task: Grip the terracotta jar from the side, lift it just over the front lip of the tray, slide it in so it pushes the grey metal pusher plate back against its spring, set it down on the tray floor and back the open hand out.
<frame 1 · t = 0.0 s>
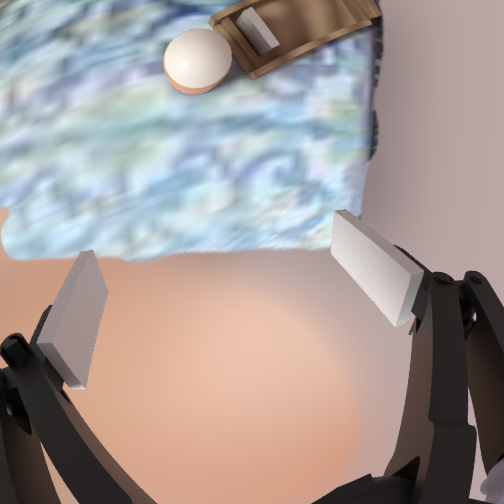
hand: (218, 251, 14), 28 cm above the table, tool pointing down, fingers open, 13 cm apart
jar: (194, 72, 32), on the table
tray: (291, 20, 30), on the table
pusher: (254, 33, 27), point 5 cm above the table, slide at 0.0 cm
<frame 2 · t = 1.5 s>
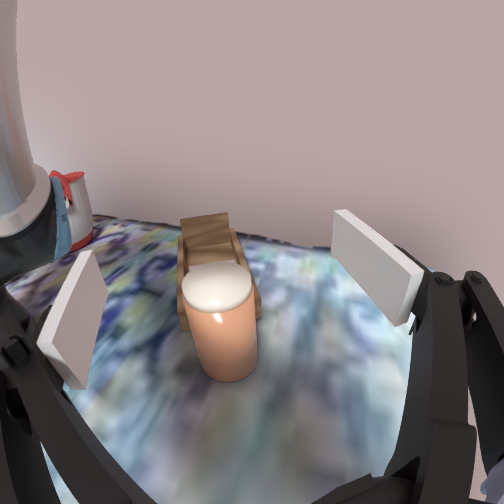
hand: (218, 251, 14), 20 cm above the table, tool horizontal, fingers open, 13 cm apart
jar: (228, 358, 33), on the table
tray: (213, 279, 47), on the table
pusher: (215, 286, 38), point 5 cm above the table, slide at 0.0 cm
citrus juicer: (74, 245, 61), on the table
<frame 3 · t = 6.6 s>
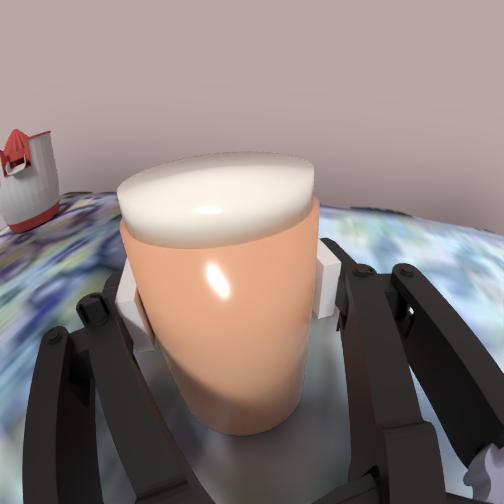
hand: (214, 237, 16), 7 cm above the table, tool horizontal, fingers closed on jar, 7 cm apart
jar: (242, 383, 15), on the table, touching gripper
citrus juicer: (35, 223, 44), on the table
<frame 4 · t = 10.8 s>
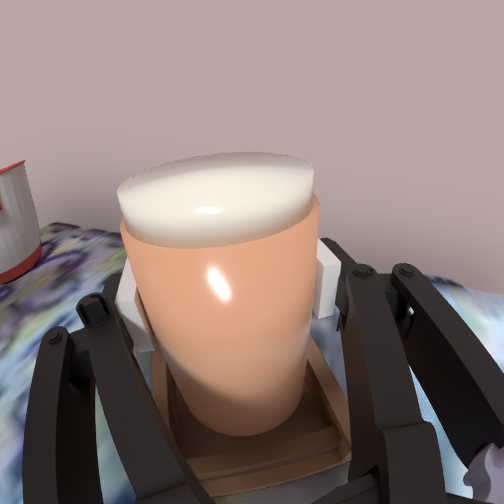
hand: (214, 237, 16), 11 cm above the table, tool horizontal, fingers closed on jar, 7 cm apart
jar: (242, 383, 15), point 4 cm above the table, touching gripper, pusher
tray: (231, 359, 21), on the table
citrus juicer: (16, 270, 36), on the table
when the fingers open (9 cm above the table, at t = 11.6 s): jar moves 1 cm, resting on tray, pusher.
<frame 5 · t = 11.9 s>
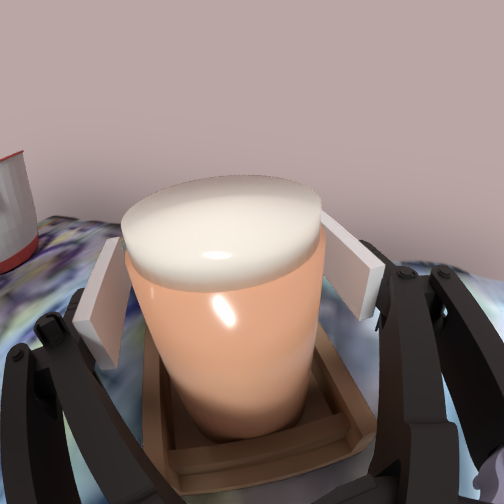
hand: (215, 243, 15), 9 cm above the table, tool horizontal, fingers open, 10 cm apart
jar: (245, 398, 15), point 1 cm above the table, touching tray, pusher
tray: (230, 344, 20), on the table
citrus juicer: (13, 261, 35), on the table
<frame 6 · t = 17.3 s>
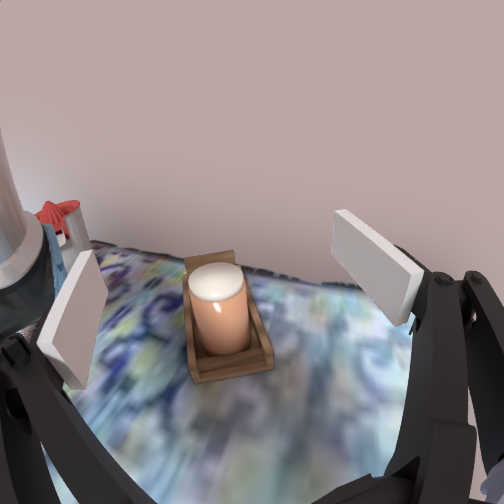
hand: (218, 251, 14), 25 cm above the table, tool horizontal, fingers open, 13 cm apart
jar: (226, 344, 39), point 1 cm above the table, touching tray, pusher
tray: (221, 323, 45), on the table
citrus juicer: (73, 277, 59), on the table
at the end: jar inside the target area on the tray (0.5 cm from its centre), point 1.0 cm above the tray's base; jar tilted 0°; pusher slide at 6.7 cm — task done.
